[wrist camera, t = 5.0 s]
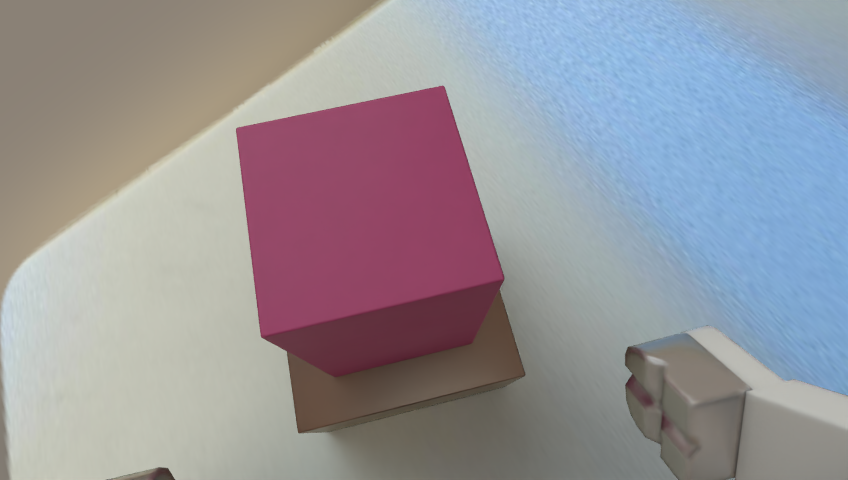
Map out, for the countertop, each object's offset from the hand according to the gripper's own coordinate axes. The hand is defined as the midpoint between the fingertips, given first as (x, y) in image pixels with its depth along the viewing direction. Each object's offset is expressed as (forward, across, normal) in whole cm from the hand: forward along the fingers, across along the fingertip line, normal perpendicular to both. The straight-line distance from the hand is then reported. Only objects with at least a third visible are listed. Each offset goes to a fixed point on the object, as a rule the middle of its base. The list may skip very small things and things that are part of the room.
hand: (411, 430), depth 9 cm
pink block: (+9, 0, +2) cm, 10 cm away
